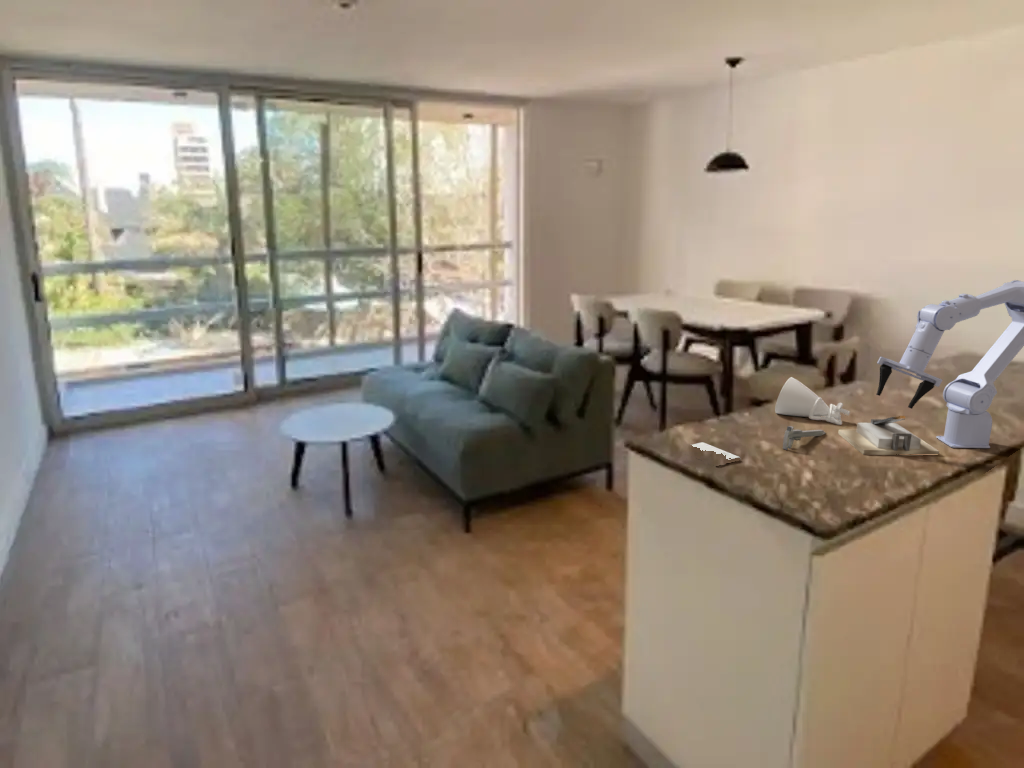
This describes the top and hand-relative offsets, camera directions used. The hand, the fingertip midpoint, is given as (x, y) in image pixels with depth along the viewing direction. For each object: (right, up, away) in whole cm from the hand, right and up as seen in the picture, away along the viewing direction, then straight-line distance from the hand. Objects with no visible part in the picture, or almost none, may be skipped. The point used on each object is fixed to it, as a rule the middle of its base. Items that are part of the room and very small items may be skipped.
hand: (893, 401), depth 173 cm
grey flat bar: (+1, -5, +4) cm, 7 cm away
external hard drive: (-46, -14, -1) cm, 48 cm away
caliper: (-18, -11, +9) cm, 23 cm away
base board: (+1, -11, +6) cm, 13 cm away
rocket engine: (-10, -6, +28) cm, 30 cm away
